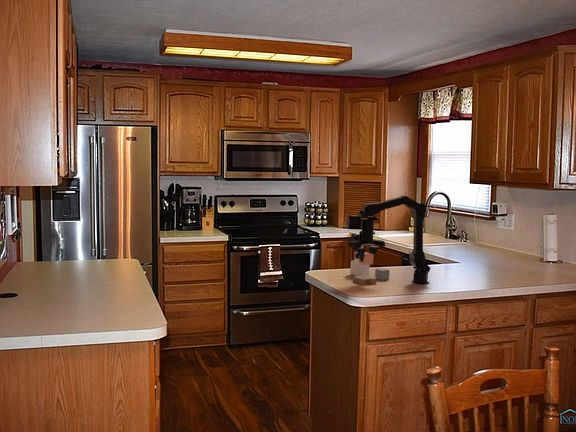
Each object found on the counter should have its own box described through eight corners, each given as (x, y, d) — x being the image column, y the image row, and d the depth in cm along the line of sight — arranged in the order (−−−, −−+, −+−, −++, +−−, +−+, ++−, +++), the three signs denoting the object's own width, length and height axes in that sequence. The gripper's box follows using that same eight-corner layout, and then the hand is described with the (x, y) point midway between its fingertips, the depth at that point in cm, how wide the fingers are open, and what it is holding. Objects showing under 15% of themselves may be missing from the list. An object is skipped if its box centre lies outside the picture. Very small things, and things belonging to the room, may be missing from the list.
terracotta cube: (366, 262, 298) (367, 252, 298) (373, 264, 294) (373, 254, 293) (358, 262, 296) (359, 252, 295) (364, 264, 291) (365, 254, 291)
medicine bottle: (369, 275, 314) (370, 252, 313) (361, 276, 309) (362, 253, 308) (358, 272, 319) (359, 250, 318) (349, 274, 314) (351, 251, 313)
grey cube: (382, 277, 310) (383, 268, 309) (388, 279, 306) (389, 269, 305) (374, 278, 307) (375, 268, 307) (381, 280, 303) (381, 270, 302)
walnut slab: (366, 281, 301) (366, 275, 301) (376, 284, 295) (376, 278, 294) (353, 282, 297) (353, 276, 297) (362, 285, 291) (363, 279, 290)
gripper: (372, 226, 305) (370, 257, 306) (342, 228, 295) (340, 259, 297) (386, 229, 295) (385, 261, 297) (355, 231, 286) (354, 263, 287)
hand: (365, 261), depth 295 cm, fingers closed on terracotta cube, 5 cm apart
